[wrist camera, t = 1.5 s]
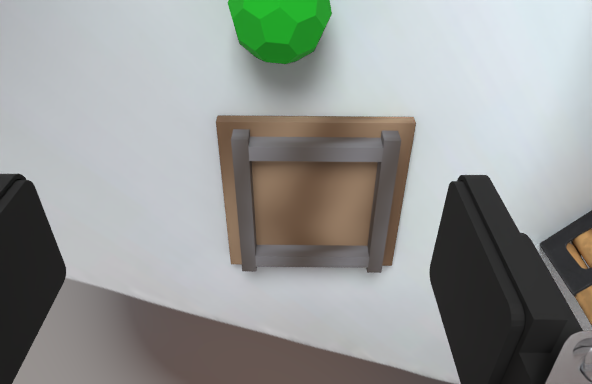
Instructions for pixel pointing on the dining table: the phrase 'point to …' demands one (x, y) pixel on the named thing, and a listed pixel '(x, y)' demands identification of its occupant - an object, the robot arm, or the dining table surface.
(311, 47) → the polyhedron
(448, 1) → the dining table surface
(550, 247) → the ammunition clip
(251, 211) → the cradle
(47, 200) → the dining table surface
